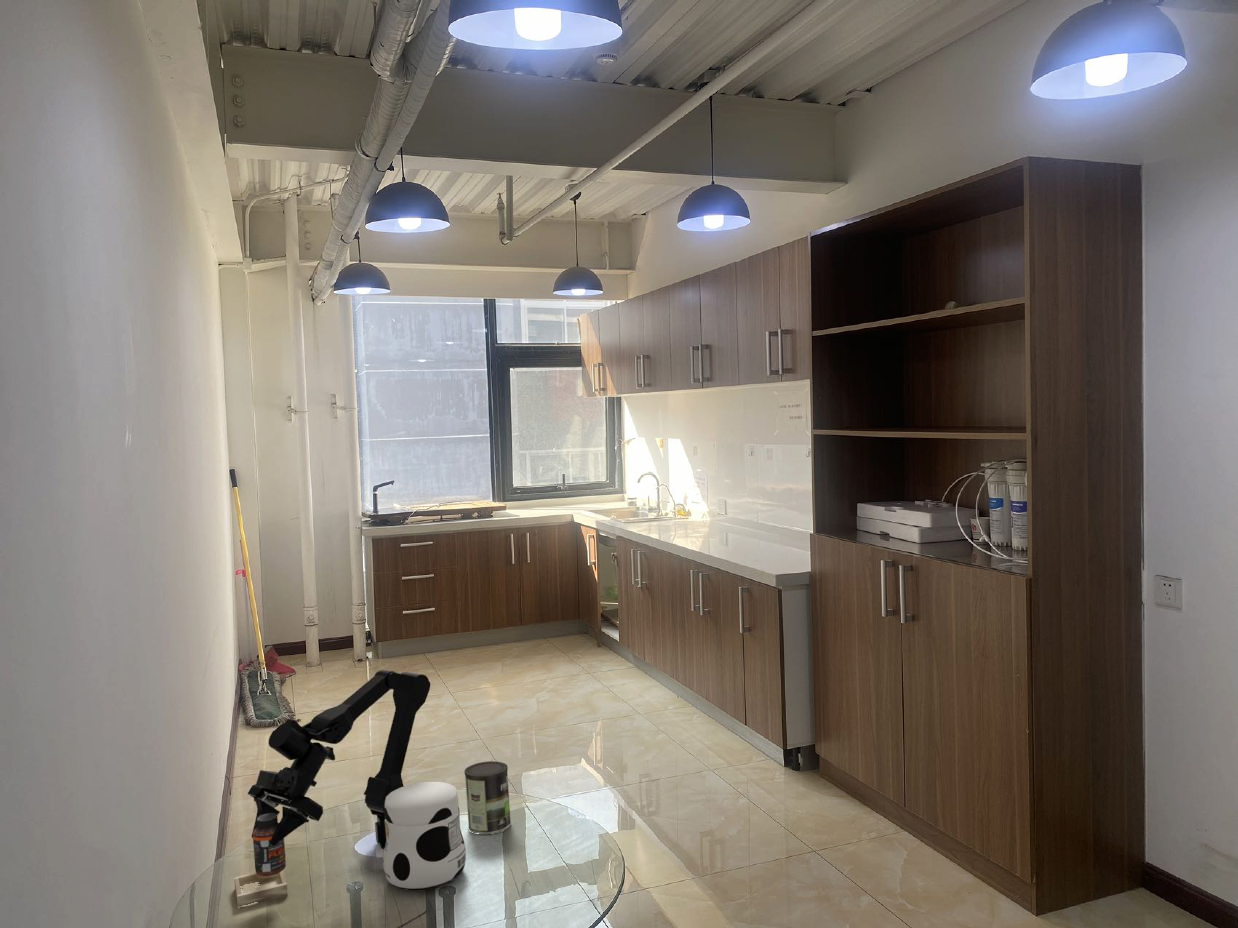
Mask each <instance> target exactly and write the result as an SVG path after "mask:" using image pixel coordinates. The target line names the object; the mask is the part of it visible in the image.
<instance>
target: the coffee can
mask: <svg viewBox="0 0 1238 928" xmlns="http://www.w3.org/2000/svg"><path fill="white" fill-rule="evenodd" d="M508 769H509V768H508V765H507V764H506V763H504V762H501V761H490V760H489V761H482V762H477V763H473V764H472V765H469V766H467V767H466V768H465V769H464V776H465V777H464V779H465V791H466V793H465V795H466V806H467V807H466V809H467V822H468V825H467V826H468V828H469V829H468V828H467V829H468V831H469V830H470V831H471V832H473V833H479V834H482V835H481V836H484V835H483V834H491V835H493V834H492V833H497V834H500V833H502V832H501V831H503V830H505V831H506V830H508V829H509V828H510V827H511V826H512V821H511V810H510V806H511V805H510V793H509V780H508V778H509V777H508ZM507 828H508V829H507ZM470 831H469V832H470ZM471 832H470V833H471ZM499 832H500V833H499ZM503 832H504V831H503ZM473 833H472V834H473Z"/></svg>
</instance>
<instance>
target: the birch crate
mask: <svg viewBox="0 0 1238 928" xmlns="http://www.w3.org/2000/svg"><path fill="white" fill-rule="evenodd" d="M284 872H285V871H284V870H282V871H281V872H280V873H277V874H275V875H271V876H260V875H258V874H256V872H252V873H248V874H244V875H239V876H236V877H234V878H233V879H234V892H235V891H236V892H235V898H236V897H237V898H236V903H237V904H238V905H237V908H238V907H241V906H243V905H248V904H251V903H254V902H258V903H259V904H261V902H262V903H265V902H269V901H275V900H278V899H282V898H284V897H288V896H289V894H288V884H287V880H286V876H285V873H284ZM255 882H259V883H258V884H260V885H258V886H260V887H257V888H255V889H256V890H253V891H248V892H247V891H245V892H247V893H243V892H244V891H243V890H240V889H241V888H240V886H243V885H245V884H250V883H255ZM242 889H243V888H242ZM241 892H242V893H241Z"/></svg>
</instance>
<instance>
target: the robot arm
mask: <svg viewBox="0 0 1238 928" xmlns="http://www.w3.org/2000/svg"><path fill="white" fill-rule="evenodd" d="M390 690H393V691H392V699H393V703H394V708H395V710H394V714H393V718H392V721H391V727H390V728H389V729H390V730H389V733H388V737H387V742H386V745H385V748H384V749H385V750H384V754H383V757H382V760H381V761H382V762H381V766H380V768H379V771H378V772H377V773H376V774H375V776H374V777H373V776H369V777H368V779H367V784H366V788H365V791H364V793H363V796H365V797H364V804H365V805H366V807H367V808H368V809H369V810H370V813H371V815H373V816H376V822H375V823H374V828H375V830H374V831H375V840H376V842H377V844H379V846H380V848H381V849H385V845H386V828H385V814H384V808H385V800H386V796H388V795H389V794H390V793H391V792H392V791H394V790H396V789H398V788H401V787H404V782H403V777H402V772H403V768H404V764H405V760H406V759H405V758H406V756H407V755H406V754H407V751H408V746H409V743H410V740H411V735H412V730H413V726H414V722H415V718H416V714H417V712H418V711H419V710H420V709H421V708H422V707H423V705H424V704H425V703H426V701H427V698H428V695H429V693H430V690H431V681H430V680H429V678H428V676H427V675H425V674H422V673H415V672H408V671H403V672H401V673H399V672H396V671H394V670H386V669H380V670H378V671H377V672H376V673H374V675H373V676H372V677H371V679H369V680H368V681H367V682H365V683H364V684H363V685H362V686H360V687H359V688H358V689H357V690H356V691H355V692H354V693H352V694H351V695H349V697H347V698H346V699H345V700H344V701H342V702H341V703H340V704H339V705H336V706H333V707H330V708H327V709H325V710H324V711H321V712H320V713H318V714H316V716H314V717H313V718H311V721H310V722H307V723H306V724H303V725H300V724H299V723H298V721H296V720H295V719H292V718H287V720H286V721H285V722H284V723H282V724H280V725H279V726H278V727H276V728H275V729H274V730H273V731H272V732H271V734H270V735H269V739H268V746H269V747H270V748H271V749H273V751H275V752H277V753H278V754H280V755H281V756H282V757H284V758H286V759H288V761H293V762H292V763H291V765H290V767H288V766H285V767H284V768H282V769H280V770H279V771H273V770H264V769H260V770H259V773H258V776H257V779H256V783H255V784H252V785H251V787H250V788H249V790H248V792H247V795H248V796H250V797H251V798H253V801H254V802H255V804H256V815H255V821H254V825H253V829H252V832H251V838H252V839H253V831H254V829H255V828H256V827H257V818H258V817H259V816H261V815H263V814H268V813H275V814H277V816H279V814H280V813H281V812H282V813H281V815H282V816H281V819H280V821H279V822H278V823H279V825H278V827H277V829H276V830H275V832H274V834H273V837H272V839H271V841H270V844H271V845H273V846H274V845H276V844H277V843H278V842H280V841H281V840H282V839H283V838H284V839H285V838H286V837H288V835H290V834H291V833H293V832H294V831H296V830H297V829H298V828H300V827H301V826H302V825H304V824H306V823H309V822H310V820H313V821H315V822H316V821H317V822H319V821H320V819H321V818H322V816H323V814H324V806H322V805H321V804H319V803H318V802H317V801H315V800H313V799H312V798H310V797H308V796H306V795H307V793H308V791H309V790H310V787H316V785H317V784H318V782H317V781H316V780H315V779H316V777H317V775H318V773H319V772H320V770H321V768H322V766H323V764H324V763H325V761H326V760H328V761H333V762H334V761H335V760H336V755H335V753H334V747H332V746H328V745H326V746H325V745H323V744H322V743H326V744H332V745H337V744H339V743H341V742H342V741H343V740H344V739H345V737H347V735H348V734H349V733H350V732H351V730H352V729H353V725H354V722H355V721H356V720H357V719H358V718H359V717H361V715H362V714H364V713H365V712H366V711H367V710H368V709H369V708H370V707H372V706H374V704H375V703H377V702H378V700H380V699H381V698H383V696H385V695H386V694H387V693H388V692H389V691H390ZM312 740H313V741H317V742H312ZM320 742H322V743H320ZM279 805H281V806H282V807H281V809H282V810H281V811H280V810H278V809H277V807H278V806H279ZM309 819H310V820H309Z"/></svg>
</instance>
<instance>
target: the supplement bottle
mask: <svg viewBox="0 0 1238 928" xmlns="http://www.w3.org/2000/svg"><path fill="white" fill-rule="evenodd" d="M278 818H279V817H278V815H277V814H275V813H268V814H263V815H261V816H259V817H258V818H257V827H256V828H255V829H254V831H253V830H252V832H253V838H252V844H253V857H254V859H253V860H254V868H255V870H254V871H255V873H256V874H258V875H260V876H271V875H275V874H277V873H280V872H281V871H282V870H283V871H284V870H285V868H286V866H287V864H286V863H287V861H286V850H285V849H286V848H285V838H283V839H282V840H281V841H280V842H278V843H277V844H276V845H274V846H273V845H271V844H270V841H271V839H272V837H273V834H274V832H275V830H276V829H277V827H278V825H279V823H280V822H279V819H278Z"/></svg>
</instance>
